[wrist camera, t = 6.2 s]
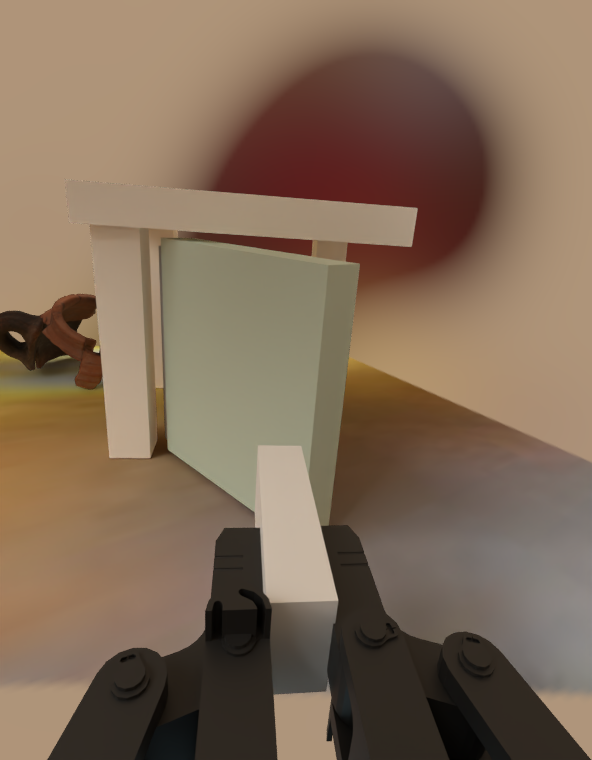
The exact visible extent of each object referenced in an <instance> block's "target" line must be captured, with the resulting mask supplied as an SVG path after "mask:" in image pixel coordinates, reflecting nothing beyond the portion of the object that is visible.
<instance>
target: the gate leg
mask: <svg viewBox="0 0 592 760" xmlns="http://www.w3.org/2000/svg"><path fill="white" fill-rule="evenodd" d="M158 247H159V276H160V305H161V334H162V362H163V391H164V420H165V438H166V439H167V444H168V450H169V451H170V452H172V453H173V454H175V455H176V456H177V457H179V458H180V459H181V460H183V461H184V462H186V463H187V464H188V465H190V466H191V467H193V468H194V469H195V470H197V471H198V472H199V473H201V474H202V475H204V476H205V477H206V478H208V479H209V480H211V481H212V482H213V483H215V484H216V485H217V486H219V487H220V488H222V489H223V490H224V491H226V492H227V493H229V494H230V495H231V496H233V497H234V498H235V499H237V500H238V501H240V502H241V503H242V504H244V505H245V506H247V507H248V508H249V509H251V510H252V511H253V512H255V495H256V473H257V452H258V445H275V446H301V447H302V451H303V455H304V459H305V464H306V468H307V472H308V476H309V480H310V485H311V489H312V493H313V497H314V501H315V505H316V510H317V514H318V518H319V522H320V526H329V519H330V511H331V502H332V494H333V485H334V477H335V469H336V460H337V452H338V443H339V435H340V426H341V418H342V410H343V401H344V393H345V384H346V376H347V367H348V359H349V350H350V342H351V334H352V325H353V317H354V308H355V300H356V291H357V283H358V275H359V266H360V264H357V263H349V262H344V261H337V260H331V259H324V258H318V257H311V256H305V255H298V254H292V253H284V252H279V251H272V250H266V249H259V248H253V247H246V246H240V245H233V244H227V243H220V242H213V241H207V240H200V239H194V238H161V246H158Z"/></svg>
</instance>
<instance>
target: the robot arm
mask: <svg viewBox="0 0 592 760" xmlns="http://www.w3.org/2000/svg"><path fill="white" fill-rule="evenodd" d="M328 679H329V685H330V691H331V696H332V698H331V705H330V712H329V719H328V726H327V741H332V735H333V739H334V745H335V751H336V757H337V760H591V759H590V758H589V757H588V756H587V754H586V753H585V752H584V751H583V750H582V748H581V747H580V746H579V745H578V744H577V743H576V741H575V740H574V739H573V738H572V737H571V735H570V734H569V733H568V732H567V730H566V729H565V728H564V727H563V726H562V725H561V723H560V722H559V721H558V720H557V719H556V717H555V716H554V715H553V714H552V713H551V711H550V710H549V709H548V708H547V707H546V705H545V704H544V703H543V702H542V701H541V699H540V698H539V697H538V696H537V695H536V693H535V692H534V691H533V690H532V689H531V687H530V686H529V685H528V684H527V683H526V681H525V680H524V679H523V678H522V677H521V675H520V674H519V673H518V672H517V671H516V669H515V668H514V667H513V666H512V665H511V663H510V662H509V661H508V660H507V659H506V657H505V656H504V655H503V654H502V653H501V652H500V651H499V650H498V649H497V648H496V647H495V646H494V645H493V644H492V643H491V642H490V641H488V640H486V639H484V638H482V637H481V636H479V635H476V634H472V633H468V632H456V633H453V634H451V635H450V636H448V637H446V639H445V641H444V643H443V645H441V644H437V643H433V642H429V641H426V640H422V639H418V638H415V637H413V636H410V635H408V634H406V633H405V632H403V631H401V630H400V628H399V626H398V625H397V623H396V622H395V621H394V620H393V619H392V618H390V617H389V616H388V615H387V614H386V612H385V610H384V608H383V605H382V602H381V599H380V596H379V594H378V591H377V588H376V585H375V582H374V579H373V576H372V574H371V571H370V568H369V566H368V562H367V559H366V556H365V554H364V551H363V548H362V545H361V542H360V539H359V537H358V536H357V535H356V534H355V533H354V532H353V531H352V530H351V528H350V527H349V526H348V525H341V526H320V522H319V518H318V514H317V510H316V505H315V501H314V497H313V493H312V489H311V485H310V480H309V476H308V472H307V468H306V464H305V459H304V455H303V451H302V447H301V446H275V445H258V452H257V473H256V495H255V528H224V530H223V531H222V533H221V534H220V536H219V537H218V539H217V540H216V546H215V559H214V570H213V580H212V592H211V599H210V600H209V602H208V605H207V608H206V611H205V631H204V633H203V634H202V635H201V636H200V637H199V639H198V640H197V641H195V642H194V643H193V644H191V645H190V646H189V647H187V648H185V649H183V650H181V651H178V652H176V653H173V654H170V655H167V656H164V657H161V656H160V655H159V654H158V653H157V652H155V651H152V650H150V649H147V648H132V649H129V650H126V651H123V652H120V653H118V654H117V655H115V656H114V657H112V658H111V659H110V660H108V661H107V662H106V663H105V664H104V665H103V667H102V668H101V669H100V670H99V672H98V673H97V674H96V676H95V678H94V680H93V681H92V683H91V685H90V686H89V688H88V690H87V692H86V693H85V695H84V697H83V699H82V701H81V702H80V704H79V706H78V707H77V709H76V711H75V713H74V714H73V716H72V718H71V720H70V721H69V723H68V725H67V727H66V728H65V730H64V732H63V733H62V735H61V737H60V739H59V741H58V742H57V744H56V746H55V747H54V749H53V751H52V753H51V755H50V756H49V758H48V760H277V746H276V729H275V716H274V697H273V694H289V693H306V692H322V691H326V687H327V680H328Z"/></svg>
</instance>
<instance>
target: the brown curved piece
mask: <svg viewBox="0 0 592 760" xmlns="http://www.w3.org/2000/svg"><path fill="white" fill-rule="evenodd" d="M95 309H97V305H96V296H94V295H88V294H76V295H74V294H71V295H68V296H64V297H62V298H60V299H58V300H57V301H56V302H55V303H54V305H53V307H52V309H50V310H48V311H46V312H45V313H44V314H42V315H40V316H35V315H30V314H27V313H24V312H21V311H6V312H3V313H0V350H1V351H2V352H4V353H5V354H7V355H8V356H10V357H13V358H15V359H18V360H20V361H21V362H22V363H23V364H24V365H25V366H26V367H27V369H29V370H34V369H35V361H36V367H37V368H42V366H43V365H44V364H45V363H47V362H48V361H49V360H52V359H55V358H57V357H59V356H64V355H69V356H70V357H72V358H74V359H76V360H77V361H80V362H81V363H80V367H79V372H78V374H77V376H76V377H75V384H76V385H77V386H79V387H82V388H87V389H94V388H95V387H96V386H97V385H98V384H99V383H100V382H101V379H102V377H103V376H102V364H101V352H99V353H96V352H93V349H94V347H95V345H96V340H94V339H90V338H86V337H84V336H82V335H81V334H79V333H77V329H78V327H79V325H80V323H81V321H82V320H83V319H88V318H90V317H91V316H93V314H95ZM8 331H14V332H17V333H19V334H21V335H22V337H23V338H24V340H25V342H19V341H17V340H16V339H15V338H13V337H12V336H11V335H10V333H9V332H8Z"/></svg>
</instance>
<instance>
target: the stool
mask: <svg viewBox="0 0 592 760" xmlns="http://www.w3.org/2000/svg"><path fill="white" fill-rule="evenodd" d="M65 188H66V198H67V207H68V217H69V223H79V224H80V223H81V224H90V235H91V247H92V258H93V270H94V282H95V294H96V305H97V316H98V329H99V341H100V352H101V364H102V376H103V387H104V399H105V411H106V423H107V434H108V446H109V458H151V455H152V453H153V450H154V448H155V445H156V442H157V440H158V438H157V414H156V390H155V388H163V362H162V334H161V305H160V276H159V247H158V246H161V238H178V230H179V231H194V232H208V233H222V234H236V235H251V236H265V237H279V238H294V239H308V240H309V239H310V240H313V248H312V257H318V258H324V259H331V260H337V261H344V262H345V260H346V251H347V242H352V243H366V244H379V245H396V246H409V247H412V240H413V234H414V228H415V222H416V215H417V208H408V207H396V206H384V205H371V204H360V203H359V204H358V203H346V202H335V201H323V200H311V199H298V198H286V197H273V196H262V195H249V194H237V193H224V192H212V191H200V190H188V189H175V188H163V187H150V186H139V185H126V184H114V183H102V182H90V181H78V180H66V179H65Z"/></svg>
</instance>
